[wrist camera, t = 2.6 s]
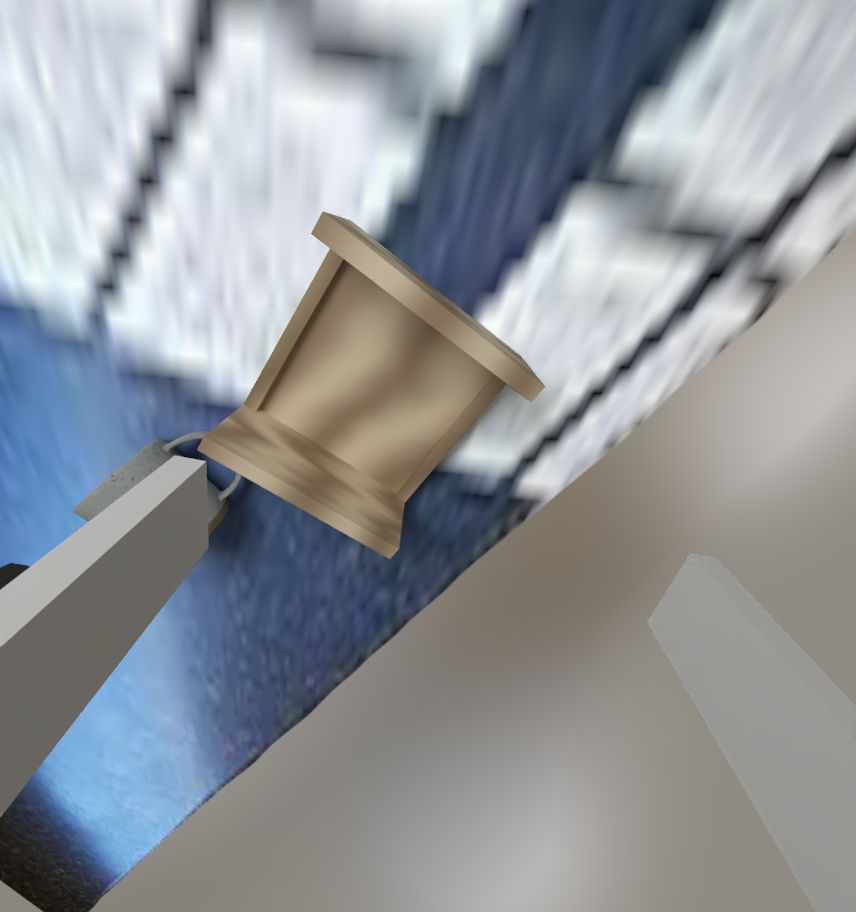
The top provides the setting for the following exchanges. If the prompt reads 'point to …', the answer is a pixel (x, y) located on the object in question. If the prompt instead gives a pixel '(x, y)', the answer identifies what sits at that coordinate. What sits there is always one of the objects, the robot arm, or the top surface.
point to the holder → (365, 391)
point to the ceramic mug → (143, 467)
